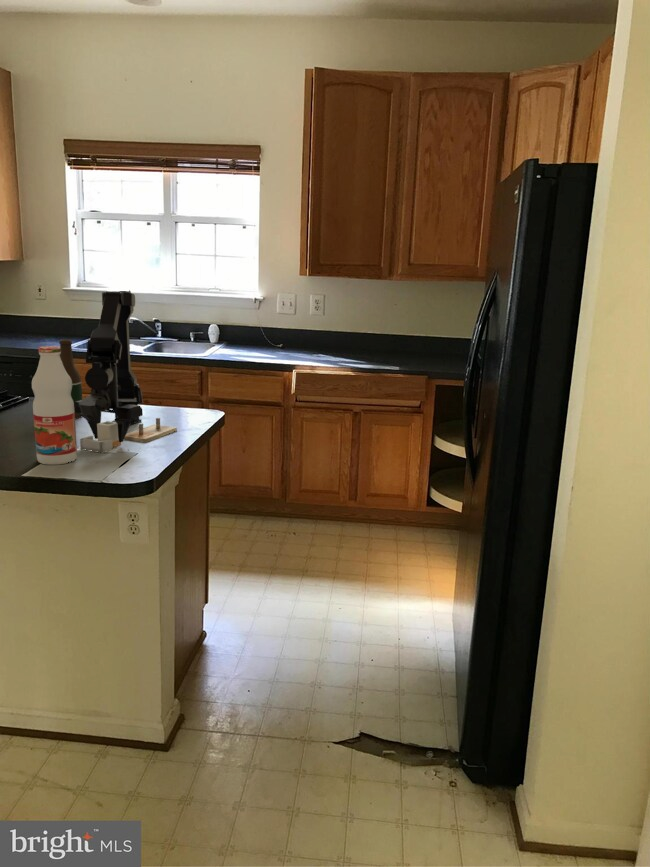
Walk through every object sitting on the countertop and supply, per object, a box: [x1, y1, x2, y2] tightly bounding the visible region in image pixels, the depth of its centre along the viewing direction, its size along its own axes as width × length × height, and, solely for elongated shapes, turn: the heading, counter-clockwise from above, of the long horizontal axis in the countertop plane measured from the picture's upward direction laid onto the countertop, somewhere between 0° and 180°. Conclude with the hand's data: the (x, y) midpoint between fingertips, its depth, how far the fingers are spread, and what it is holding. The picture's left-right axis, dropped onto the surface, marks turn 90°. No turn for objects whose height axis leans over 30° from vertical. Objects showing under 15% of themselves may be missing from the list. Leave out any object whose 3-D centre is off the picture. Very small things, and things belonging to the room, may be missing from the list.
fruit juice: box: [31, 345, 78, 466], centre depth 168 cm, size 9×9×28 cm
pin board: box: [124, 417, 178, 443], centre depth 197 cm, size 8×15×4 cm, turn 158°
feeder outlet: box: [79, 435, 113, 453], centre depth 181 cm, size 7×4×3 cm, turn 68°
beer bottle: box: [58, 338, 83, 419], centre depth 213 cm, size 8×8×24 cm
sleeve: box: [97, 420, 122, 448], centre depth 185 cm, size 4×4×6 cm
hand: (108, 440), depth 186 cm, fingers open, 8 cm apart
